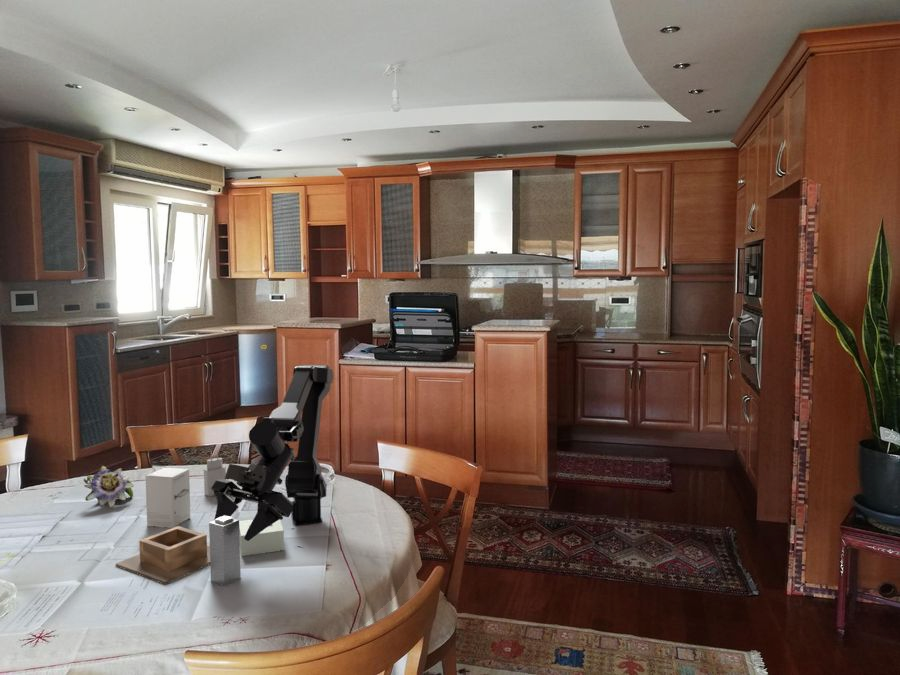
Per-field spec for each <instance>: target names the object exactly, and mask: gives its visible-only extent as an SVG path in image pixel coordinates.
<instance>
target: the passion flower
mask: <svg viewBox="0 0 900 675" xmlns="http://www.w3.org/2000/svg"><path fill="white" fill-rule="evenodd" d="M122 471H123V470H122V468H118V469H116V470H114V471H111V470H110V469H107V467H106V466H104V465H101V467H100V469H99V471H98V472H96V473H95V474H94V475H87V476H86V478H87V479H86V478H83V482H84V483H85V484H84V485H83V487H84V488H87V489H90V490H91V491H90V493H88V494H87V495H86V496H85V501H86V502H87V501H91V500H93V499H95V498H96V499H97V504H98V505H99V507H100V508H101V507H103V506H104V505H105V506H107V507H108V508H109V509H112V508H113V507H115V503H116V500H117V499H118V500H121V501H126V499H127V496H126V494H127V495H128V496H129V497H130V499H132V498H133V496H134V492H133V489H132V488H134V483H132V482H131V481H130V476H128V475H126V476H123V475H122ZM125 493H126V494H125Z"/></svg>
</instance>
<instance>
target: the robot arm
mask: <svg viewBox="0 0 900 675" xmlns="http://www.w3.org/2000/svg"><path fill="white" fill-rule="evenodd" d="M292 372H293V374H292V378H291V381H290V384H289V386H288V388H287V391H286V392H285V396H284V398H283V400H282V402H281V404H280V406H278V407H276V408H275V409H273V410H272V411H271V412H270V414H269V417H267V416H266V417H264V416H263V417H262V419H261V421H260V422H258V423H255V425H254V426H252V428H251V429H250V430H249V432H248V439H249V441H250V443H251V445H252V447H254V449H255V451H256V453H257V454H258V455H259V456H260V457H259V459H258V461H257V462H256V463H250V464H249V465H248V467H247V466H243V465H238V464H235V463H229V464H228V467H227V469H226V476H225V479H226V480H224V479H219V480H216V481H215V483H214V485H213V486H212V488H211V489H212V490H213V491H214V496H215V498H216V501H217V504H216V511H215V515H214V520H215V519H217V518H219V517H222V516H224V515H225V516H229V517H232V515H233V514H234V513H235V512H236V511H237V510H238V508H239V504H240V503H241V502H242V501H248V502H252V503H256V504H257V511H256V514H255V516H254V518H253V519H252V520H253V521H252V523H251V525H250V527H249V529H248V531H247V533H246V535H245V537H244V539H245V540H246V541H249V540H250V539H252V538H253V537H255V536H256V535H257V534H259V533H260V532H261V531H263V530H264V529H265V528H267V527H268V526H270V525H271V524H273V523H275V522H276V521H278V520H280V521H283V519H284V517H285V518H289V517H290V518H291V521H293V523H294V525H295V526H303V525H311V524H317V523H323V518H322V512H321V511H322V510H321V509H322V506H321V505H322V503H321V501H322V500H321V499H322V498H325V497H327V482H326V481H325V478H324V477H323V474H322V467H321V465H320V462H319V460H318V458H317V455H318V454H317V453H318V443H319V434H320V426H321V417H322V416H321V415H322V407H323V400H324V399H325V398H326V396H327V395H328V394H329V392H330V391H331V384H332V383H333V380H334V371H333V369H332V368H330V367H329V365H328V364H303V365H301V364H300V365H297V366H295V367H294V368H293V371H292ZM297 442H298V445H297V446H298V447H297V454H296V456H295V453H294V448H293V447H290V445H289V444H288V443H297ZM287 466H288V469H287V470H288V471H287V474H286V476H285V480H284V484H285V492H286V495H285V494H284V493H283V492H281V491H275V490H274V488H275V487H276V485H279V486H281V484H282V483H283V479H282V478H281V476H282V474H283V473H284V471H285V469H286V467H287ZM232 480H233V481H234V482H233V481H232ZM235 482H236V483H235ZM240 487H241V488H240ZM290 498H292V499H293V500H292V501H291V500H290ZM214 520H213V521H214Z"/></svg>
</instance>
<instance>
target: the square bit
mask: <svg viewBox="0 0 900 675" xmlns="http://www.w3.org/2000/svg"><path fill="white" fill-rule="evenodd" d="M214 519H215V518H214ZM239 521H240V520H239V519H236V518H234V517H232V516H230V517H229V516H225V515H224V516H222V517H219V518H217V519H215V520H213V521H212V520H211V521H209V522H208V527H209V528H208V531H209V532H208V535H209V536H208V537H209V546H210V564H209V565H210V566H209V567H210V582H212V583H215V584H218V585H221V586H224V587H225V586H228V585H230V584H232V583H234V582H235V581H237V580H240V579H241V550H240V534H239Z"/></svg>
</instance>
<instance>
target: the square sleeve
mask: <svg viewBox="0 0 900 675" xmlns="http://www.w3.org/2000/svg"><path fill="white" fill-rule="evenodd" d="M207 536H208V534H205V533H202V532H199V531H197V530H192V529H190V528H186V527H183V526H180V525H177V526H175V527H174V528H168V529H166V530H164V531H161V532H158V533H155V534H152V535H150V536H147V537H145V538H142V539H140V540H139V541H138V542H139V554H136V555H134V556H131V557H129V558H126V559H124V560H121V561H119V562H117V563H115V566H116V565H117V566H116V567H118V566H119V567H118V568H120V567H122V568H121V569H123V568H125V569H124V570H126V569H127V570H126V571H128V570H130V571H129V572H131V571H133V572H132V573H134V572H135V573H134V574H136V573H138V574H137V575H139V574H141V575H140V576H142V575H143V576H142V577H144V576H146V577H145V578H147V577H148V578H147V579H150V580H152V579H153V581H155V580H156V581H155V582H157V581H159V582H158V583H160V582H161V583H160V584H163V585H168V584H170V583H172V582H174V581H176V580H178V579H180V577H181V578H182V576H183V577H184V575H185V576H187V575H189V574H191V572H192V573H194V572H196V571H198V570H200V569H202V568H201V567H203V568H205V567H207V566H209V565H210V545H208V537H207ZM208 564H209V565H208ZM206 565H207V566H206ZM204 566H205V567H204ZM199 568H200V569H199ZM197 569H198V570H197ZM195 570H196V571H195ZM193 571H194V572H193ZM188 573H189V574H188ZM173 580H174V581H173ZM171 581H172V582H171ZM169 582H170V583H169Z"/></svg>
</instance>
